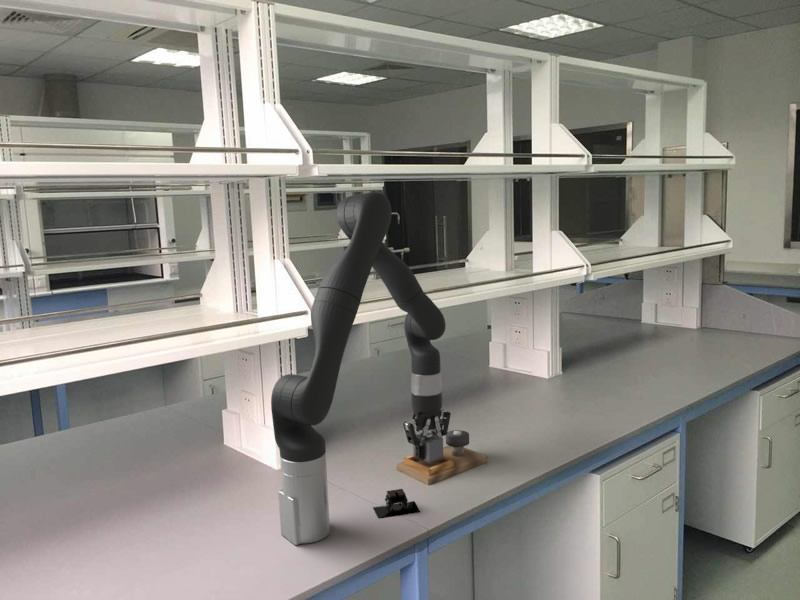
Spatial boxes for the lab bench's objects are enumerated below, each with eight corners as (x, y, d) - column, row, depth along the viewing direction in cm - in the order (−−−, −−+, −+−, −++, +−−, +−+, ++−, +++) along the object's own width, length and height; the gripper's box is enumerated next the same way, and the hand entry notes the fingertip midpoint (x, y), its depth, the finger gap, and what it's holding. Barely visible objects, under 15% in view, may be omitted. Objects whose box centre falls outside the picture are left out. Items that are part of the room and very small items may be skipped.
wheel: (457, 448, 166) (456, 438, 166) (441, 442, 171) (440, 432, 170) (474, 442, 170) (474, 432, 169) (457, 436, 174) (457, 426, 174)
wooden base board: (428, 485, 157) (427, 467, 156) (396, 469, 166) (396, 452, 165) (486, 461, 169) (486, 445, 168) (454, 448, 178) (454, 432, 178)
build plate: (372, 524, 140) (371, 503, 140) (365, 508, 147) (364, 489, 147) (428, 515, 143) (427, 495, 143) (419, 500, 150) (418, 481, 150)
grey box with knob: (429, 464, 160) (428, 438, 159) (413, 457, 165) (412, 432, 164) (443, 459, 163) (442, 434, 162) (427, 452, 168) (426, 427, 167)
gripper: (438, 380, 169) (439, 444, 171) (394, 392, 160) (396, 459, 163) (458, 386, 163) (459, 452, 166) (414, 399, 154) (416, 468, 157)
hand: (428, 455), depth 164 cm, fingers closed on grey box with knob, 4 cm apart
